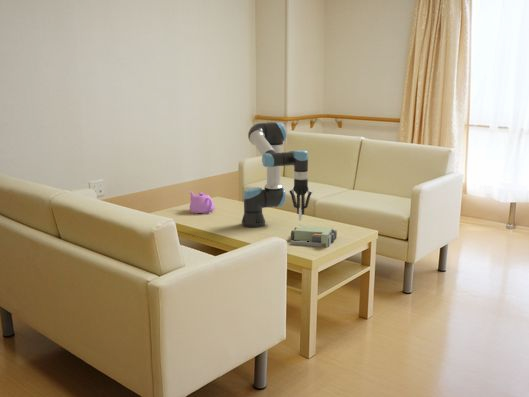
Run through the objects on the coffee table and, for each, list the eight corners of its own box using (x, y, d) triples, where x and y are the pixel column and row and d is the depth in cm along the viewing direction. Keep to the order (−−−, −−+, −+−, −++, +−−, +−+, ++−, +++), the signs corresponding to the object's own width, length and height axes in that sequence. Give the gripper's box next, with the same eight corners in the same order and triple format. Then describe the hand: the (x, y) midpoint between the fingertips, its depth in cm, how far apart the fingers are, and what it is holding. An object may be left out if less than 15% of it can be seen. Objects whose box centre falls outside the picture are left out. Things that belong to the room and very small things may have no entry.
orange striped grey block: (312, 244, 310) (312, 235, 309) (314, 242, 315) (314, 232, 314) (326, 245, 308) (326, 236, 307) (328, 243, 312) (328, 233, 311)
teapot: (222, 211, 395) (221, 192, 392) (202, 216, 383) (201, 196, 380) (199, 206, 412) (199, 188, 410) (180, 211, 400) (179, 192, 397)
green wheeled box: (286, 244, 313) (286, 232, 311) (296, 234, 332) (296, 223, 330) (329, 247, 305) (329, 235, 304) (336, 237, 324) (336, 225, 323)
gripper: (287, 179, 306) (287, 220, 311) (310, 180, 302) (310, 222, 307) (291, 176, 313) (291, 217, 318) (314, 177, 309) (313, 219, 314)
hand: (300, 219), depth 313 cm, fingers closed
